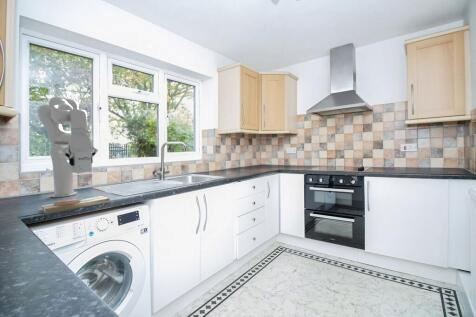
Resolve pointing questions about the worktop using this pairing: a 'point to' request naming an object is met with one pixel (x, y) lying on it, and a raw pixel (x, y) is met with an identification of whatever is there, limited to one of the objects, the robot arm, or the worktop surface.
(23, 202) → the worktop surface
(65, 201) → the board
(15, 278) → the worktop surface
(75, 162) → the supplement box
